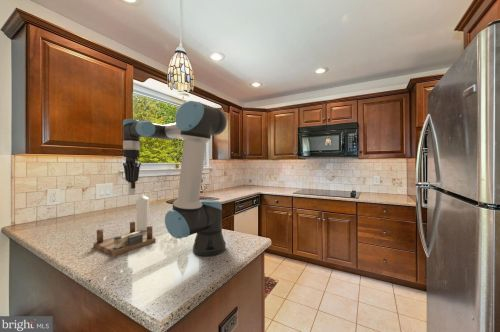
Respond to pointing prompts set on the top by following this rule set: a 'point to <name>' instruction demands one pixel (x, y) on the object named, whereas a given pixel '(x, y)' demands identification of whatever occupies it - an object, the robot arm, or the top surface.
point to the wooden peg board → (133, 241)
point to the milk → (142, 213)
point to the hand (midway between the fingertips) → (131, 194)
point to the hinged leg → (123, 239)
